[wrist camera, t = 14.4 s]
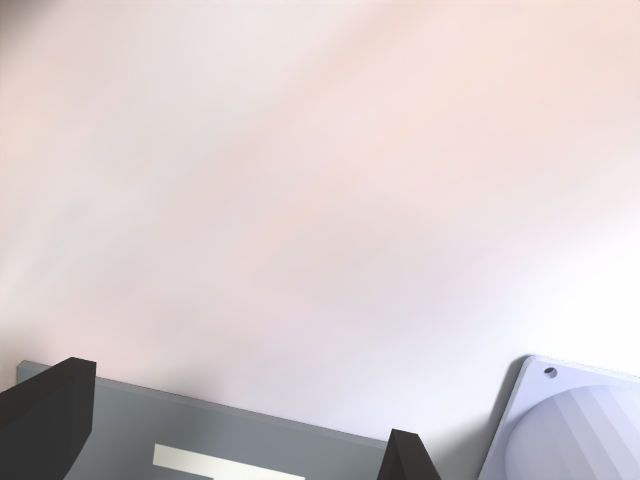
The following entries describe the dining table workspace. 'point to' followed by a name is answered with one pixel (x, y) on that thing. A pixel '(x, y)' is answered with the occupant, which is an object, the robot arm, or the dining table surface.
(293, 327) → the dining table surface
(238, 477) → the letter board
